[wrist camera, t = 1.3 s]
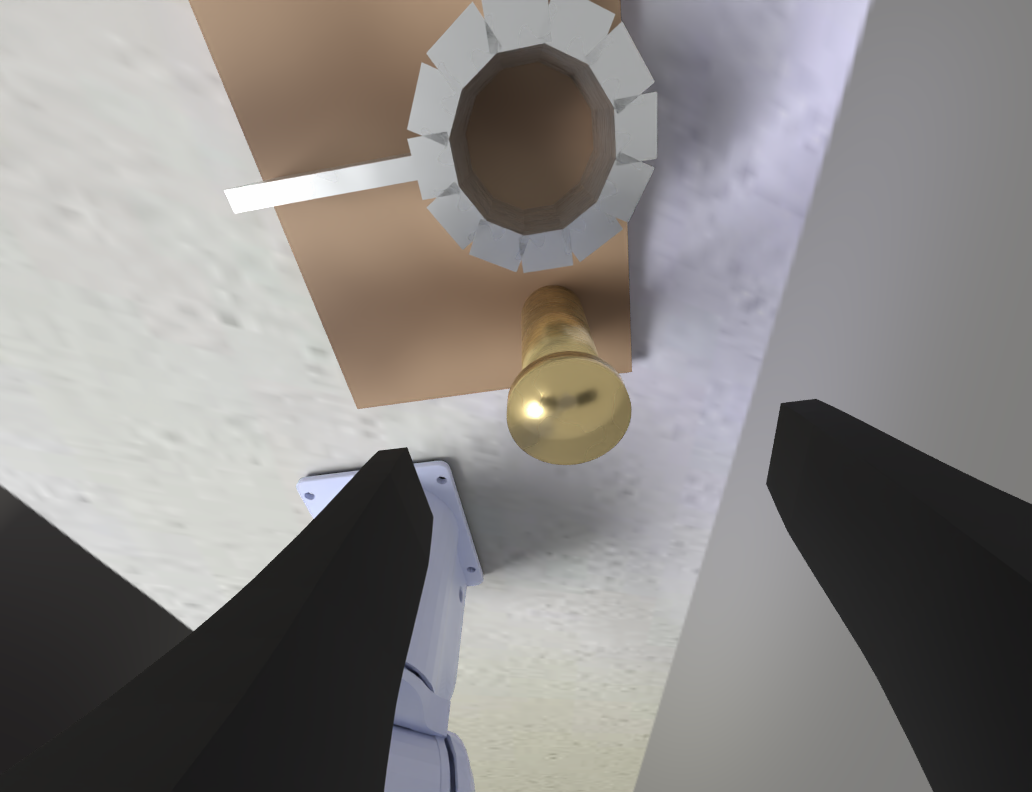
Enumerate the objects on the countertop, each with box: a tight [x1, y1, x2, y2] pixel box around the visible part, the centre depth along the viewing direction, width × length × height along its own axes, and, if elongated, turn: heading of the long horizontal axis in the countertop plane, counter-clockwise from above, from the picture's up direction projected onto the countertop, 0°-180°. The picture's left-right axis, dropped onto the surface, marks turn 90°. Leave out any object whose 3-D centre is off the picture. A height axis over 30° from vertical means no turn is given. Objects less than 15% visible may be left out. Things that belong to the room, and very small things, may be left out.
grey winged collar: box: [225, 0, 657, 273], centre depth 12 cm, size 12×12×4 cm
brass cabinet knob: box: [507, 285, 631, 465], centre depth 15 cm, size 3×3×7 cm
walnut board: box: [189, 0, 632, 409], centre depth 15 cm, size 20×12×1 cm, turn 9°
